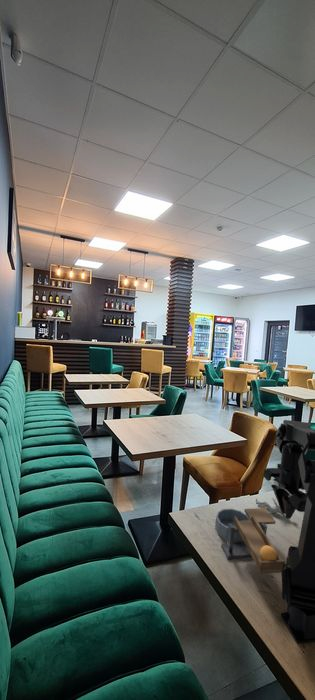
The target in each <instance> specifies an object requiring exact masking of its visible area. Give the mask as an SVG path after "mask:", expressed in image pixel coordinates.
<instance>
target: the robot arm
mask: <svg viewBox="0 0 315 700" xmlns="http://www.w3.org/2000/svg"><path fill="white" fill-rule="evenodd" d="M311 426H312V425H310V424H309V423H308V422H304V421H298V420H297V421H296V420H289V419H284V420H283V422H282V423H280V425H279V427H278V428H277V431H276V432H275V437H276V439H275V444H276V447H277V448H278V452H279V453H280V454H281V458H280V463H277V464H276V465H277V466H276V467H268V468H267V467H266V468H265V470H263V478H264V479H265V480H266V481H268V482H270V481H271V480H273V484H271V489H272V490H273V493H274V496H275V499H276V501H277V505H278V506H279V507H280V510H281V512H282V514H281V515H285V517H286V519H288V520H290V519H291V518H292V516H293V515H294V513H295V511H297V512H299V513H303V518H302V523H301V527H300V528H301V529H300V533H299V534H300V535H299V540H298V545H297V546H292V545H290V546H289V547H288V552H287V556H286V560H285V563H284V566H283V569H282V570H281V572H280V573H281V592H280V593H281V595H280V596H281V599H282V600H283V601H284V602H285V604H286V607H287V608H286V611H285V612H280V616H281V618H282V620H283V622H284V623H285V625H286V628H288V631H289V632H290V634H291V635H292V637H293V640H294V641H295V642H296V643H298V644H304V643H312V642H315V460H314V459H306V454H307V452H308V451H315V430H313V429H312V428H311ZM302 446H303V447H302ZM272 478H273V479H272ZM304 491H305V492H304Z"/></svg>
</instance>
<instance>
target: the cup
mask: <svg viewBox="0 0 315 700" xmlns="http://www.w3.org/2000/svg"><path fill="white" fill-rule="evenodd" d="M234 516H236V517H237V519H238V521H246V520H250V519H249V518H248V516H247V515H246V513H245V512H243V511H241V510H237V509H235V508H222V509H220V510H219V511H217V513H216V516H215V527H214V529H215V531H216V534H217V535H218V536H219V537H220V538H222V539H223V540H224V541H227V536H228V526H229V523H232V524H233V526H234V528H236V526H235V524H234ZM237 542H244V541H243V539H242V537H241V535H240V533H239V532H234V541H233V543H237Z"/></svg>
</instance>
